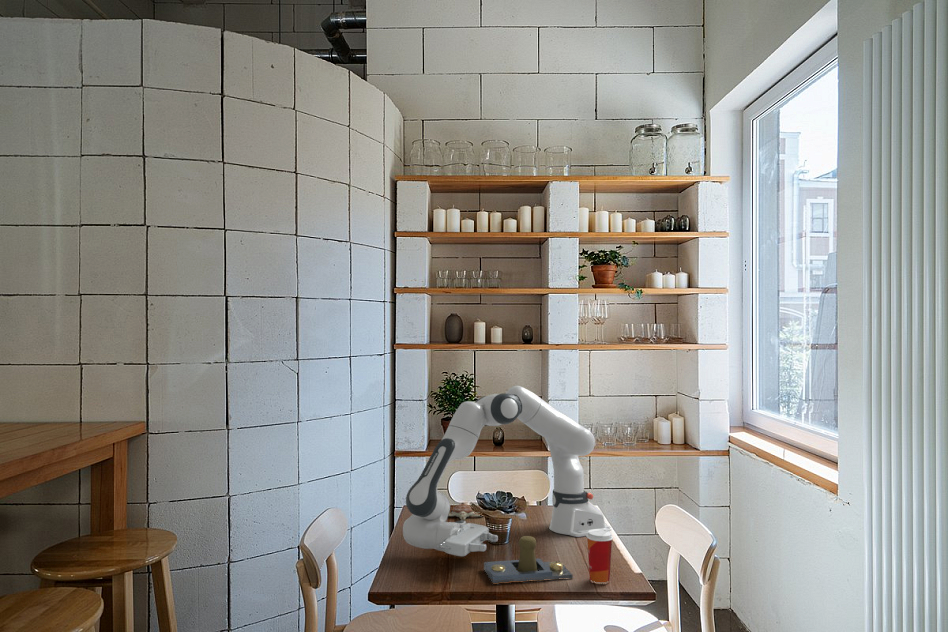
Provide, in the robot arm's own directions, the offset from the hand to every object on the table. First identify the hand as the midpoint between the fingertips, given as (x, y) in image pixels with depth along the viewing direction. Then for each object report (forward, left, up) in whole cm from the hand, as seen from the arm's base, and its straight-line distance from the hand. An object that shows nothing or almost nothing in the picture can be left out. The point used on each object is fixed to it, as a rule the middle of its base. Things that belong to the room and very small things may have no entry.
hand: (491, 543), depth 190 cm
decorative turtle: (-3, -58, -8) cm, 59 cm away
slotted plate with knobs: (-10, +6, -8) cm, 14 cm away
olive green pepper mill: (-10, +6, -8) cm, 14 cm away
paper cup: (-29, +16, -8) cm, 33 cm away
